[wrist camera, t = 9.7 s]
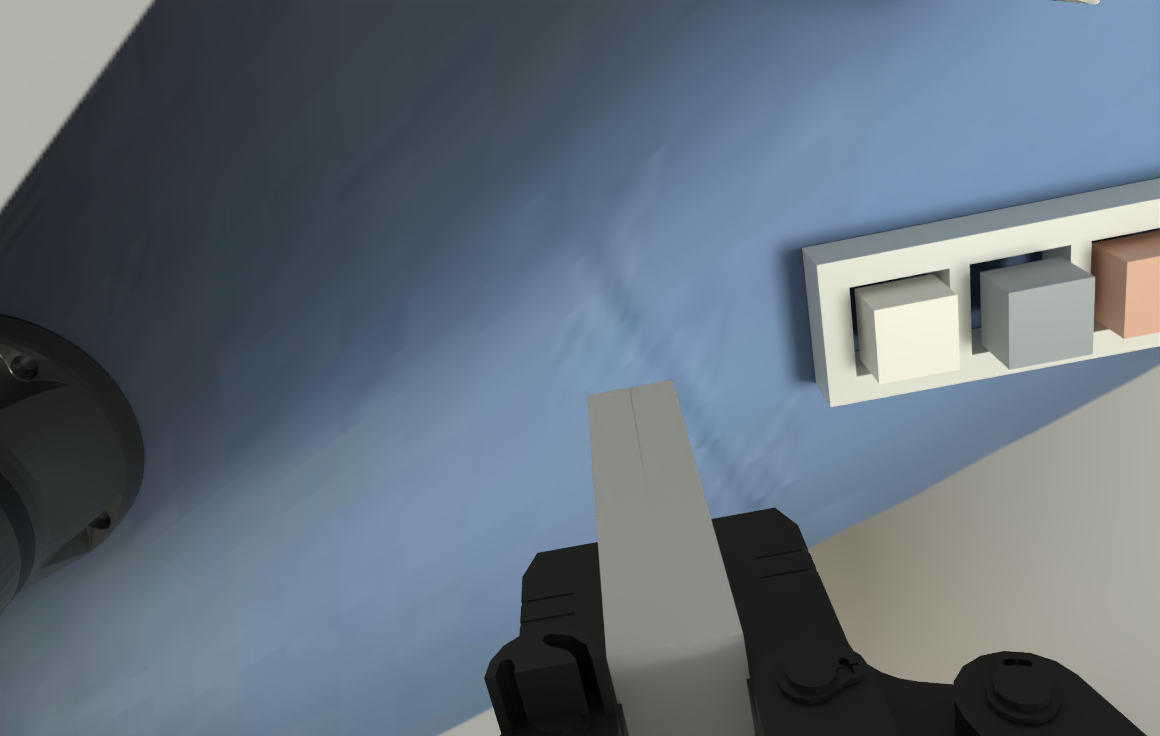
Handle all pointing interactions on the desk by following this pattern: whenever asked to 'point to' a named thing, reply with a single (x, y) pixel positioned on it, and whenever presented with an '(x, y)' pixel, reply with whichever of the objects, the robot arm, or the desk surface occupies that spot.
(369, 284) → the desk surface
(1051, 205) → the keypad housing
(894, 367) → the key ivory
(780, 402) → the desk surface
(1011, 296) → the key slate
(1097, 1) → the box
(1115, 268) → the key terracotta
